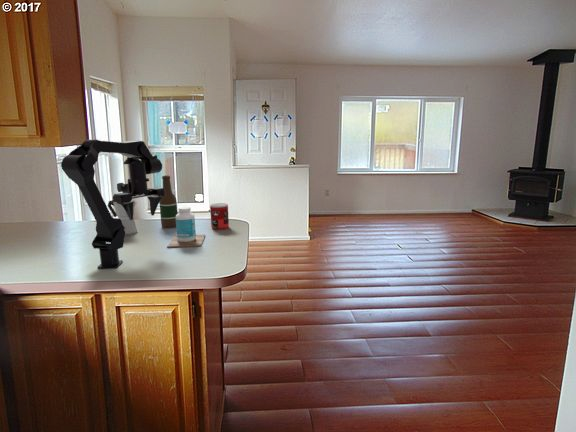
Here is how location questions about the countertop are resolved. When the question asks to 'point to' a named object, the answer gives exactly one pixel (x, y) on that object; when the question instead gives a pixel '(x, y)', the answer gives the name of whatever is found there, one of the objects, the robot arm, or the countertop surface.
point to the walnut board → (196, 243)
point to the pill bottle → (185, 225)
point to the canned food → (219, 216)
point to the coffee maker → (123, 217)
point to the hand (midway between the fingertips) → (142, 217)
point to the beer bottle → (168, 205)
